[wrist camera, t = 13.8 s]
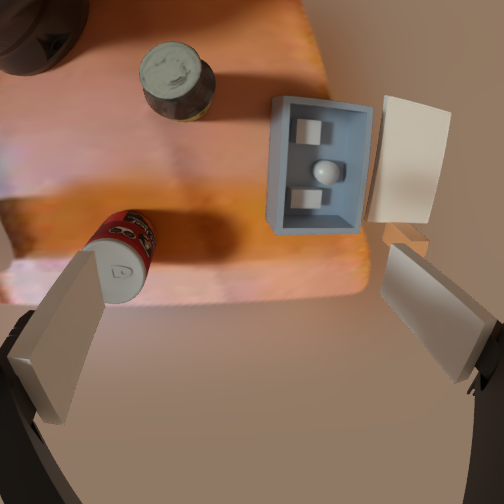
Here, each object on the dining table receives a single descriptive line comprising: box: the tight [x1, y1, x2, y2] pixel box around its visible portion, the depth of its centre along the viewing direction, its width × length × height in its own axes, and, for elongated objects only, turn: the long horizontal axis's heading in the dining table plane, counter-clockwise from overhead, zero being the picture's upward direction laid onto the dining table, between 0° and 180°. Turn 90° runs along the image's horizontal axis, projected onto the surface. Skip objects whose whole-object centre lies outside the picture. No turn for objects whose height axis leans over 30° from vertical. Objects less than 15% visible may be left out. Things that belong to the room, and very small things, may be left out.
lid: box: [364, 95, 451, 258], centre depth 40 cm, size 22×12×8 cm, turn 178°
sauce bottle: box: [139, 42, 216, 122], centre depth 26 cm, size 7×6×20 cm
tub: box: [266, 95, 374, 235], centre depth 38 cm, size 16×11×6 cm
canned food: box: [81, 211, 156, 304], centre depth 36 cm, size 8×8×11 cm
